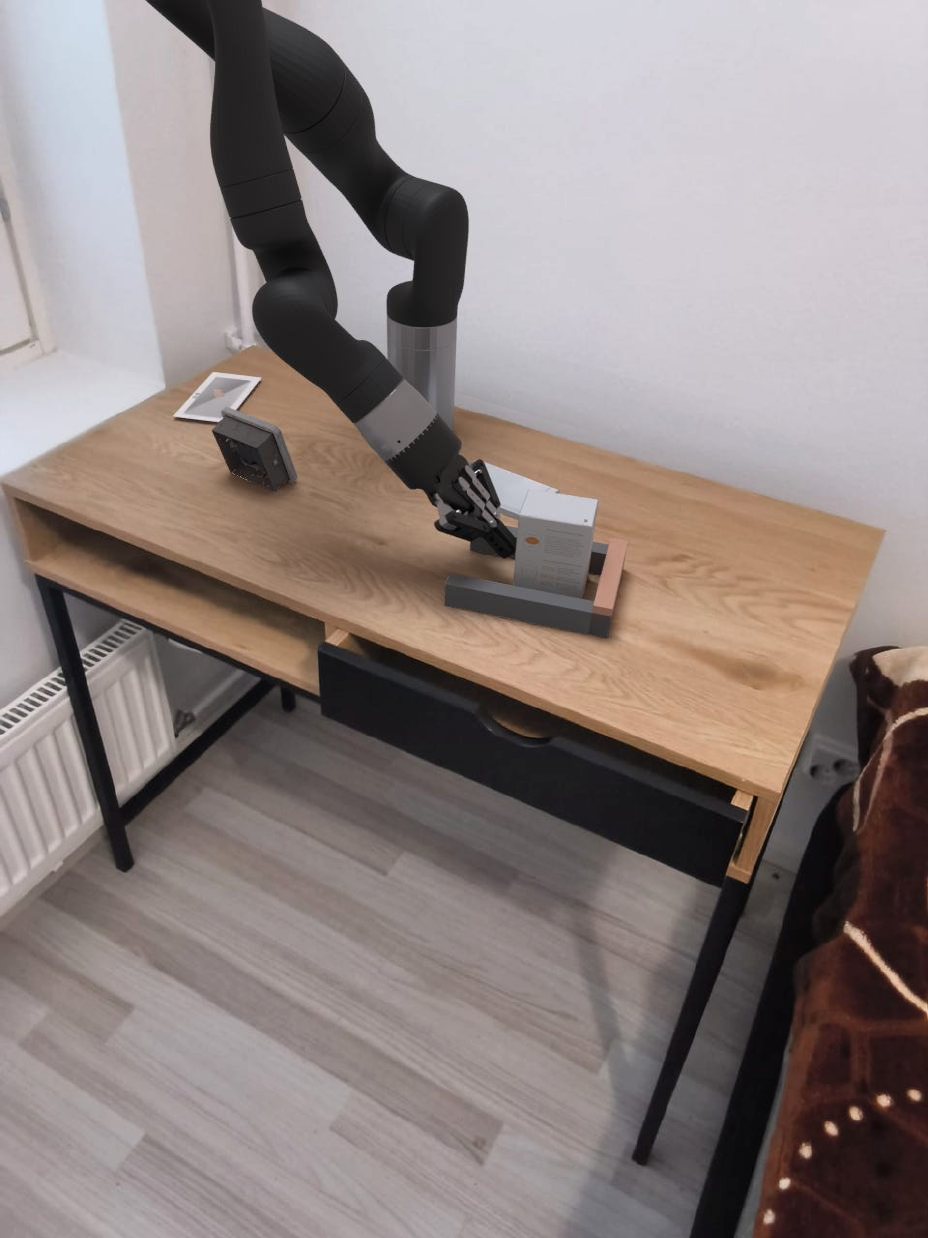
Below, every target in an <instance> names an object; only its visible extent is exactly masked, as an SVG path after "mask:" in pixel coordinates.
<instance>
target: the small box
mask: <svg viewBox="0 0 928 1238" xmlns="http://www.w3.org/2000/svg"><path fill="white" fill-rule="evenodd" d="M598 506H599V500H598V499H596V498H591V497H583V496H577V495H569V494H564V493H559V494H558V493H552V492H545V491H539V490H532V489H529V490H528V492H527V494H526V497H525V500H524V502H523V505H522V508H521V510H520V513H519V517H518V520H517V528H518V530H517V543H516V554H515V559H514V569H513V570H514V572H513V582H512V585H513V586H518V587H523V588H528V589H534V590H539V591H544V592H549V593H554V594H559V595H564V596H569V597H574V598H580V599H584V594H585V592H586V591H585V590H586V585H587V582H588V578H589V573H588V572H589V565H590V558H591V551H592V544H593V542H594V538H595V537H594V535H595V528H596V522H597V515H598V514H597V513H598V509H599V508H598Z"/></svg>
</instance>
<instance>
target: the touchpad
mask: <svg viewBox="0 0 928 1238" xmlns="http://www.w3.org/2000/svg"><path fill="white" fill-rule="evenodd" d="M261 379H262V377H261V376H260V377H258V376H250V375H243V374H234V373H226V372H216V371H212V372H211V373H210V375H209V376H208V377H207V378H206V379H204V381H203V382H202V383H201V385H200V386H199V387H198V388H197V389H196V390H194V392H193V393H192V394H191V395H190V396H189V398H188V399H187V400H186V401H184V403H183V404H182V405H181V406H180V408H179V409H178V410H177V411H176V412H175V413H174V414H173V416H172V417H174V418H183V419H188V420H189V419H191V420H196V421H197V420H199V421H207V422H215V423H219V421H220V420H222V419H223V417H222V413H221V410H223V409H224V408H226V407H229V408H231V409H234V410H238V409H239V407H240V405H242V403H243V402H244V401H245V400H246V398H247V397H248V396H249V394H250V393H251V392H252V391H253V389H254V388H255V387H256V386H257V384H258V383H259V382H260V381H261Z"/></svg>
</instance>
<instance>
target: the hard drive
mask: <svg viewBox="0 0 928 1238" xmlns="http://www.w3.org/2000/svg"><path fill="white" fill-rule="evenodd" d="M483 462H484V463H485V465H486V468H487V470H488V473H489V475H490V478H491V480H492V483H493V485H494V488H495V490H496V493H497V495H498V498H499V500H500V503H501V506H500V507H498V508H497V511H498V512H499V513H500V515H504V516H507V517H510V518H512V519H514V520H517V521H518V517H519V513H520V510H521V508H522V505H523V502H524V500H525V497H526V494H527V492H528V490H529V489H532V490H539V491H545V492H552V493H558V494H560V489H557V488H554V487H552V486H549V485H547V484H544V483H541V482H539V481H536V480H534V479H531V478H528V477H525V476H522V475H521V474H517V473H514V472H513V471H509V470H506V469H504V468H501V467H499V466H496V465H493V464H491V463H488V462H486V461H483Z"/></svg>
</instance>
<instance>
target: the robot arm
mask: <svg viewBox="0 0 928 1238" xmlns="http://www.w3.org/2000/svg"><path fill="white" fill-rule="evenodd" d="M145 2H147V3H148V4H149V5H150V6H151V7H152V8H153V9H154V10H156V11H157V12H158V13H159V14H160V15H161V16H163V18H165V19H166V20H167V21H168V22H170V24H172V25H173V26H174V27H175V28H176V29H178V30H179V31H180V32H181V33H182V34H183V35H185V36H186V37H187V39H189V40H190V41H192V42H193V43H194V44H195V45H196V46H197V47H198V48H199V49H201V50H202V51H203V52H204V53H205V54H206V55H207V56H208V57H209V58H210V59H211V60H213V62H214V75H213V77H214V78H213V79H214V80H213V91H212V101H211V111H210V121H209V122H210V123H209V144H210V155H211V159H212V160H211V161H212V165H213V169H214V174H215V177H216V181H217V184H218V186H219V190H220V193H221V195H222V199H223V202H224V205H225V208H226V211H227V214H228V217H229V218H230V219H229V221H230V223H231V227H232V229H233V231H234V234H235V236H236V239H237V240H238V242H239V243H240V245H241V246H242V247H244V249H245V248H246V249H248V250H249V251H250V250H251V251H252V252H253V254H254V256H255V259H256V261H257V263H258V265H259V268H260V271H261V273H262V275H263V278H264V281H265V283H263V284H262V286H261V287H259V289H258V290H257V292H256V293H255V294H254V295H255V296H254V298H253V300H252V304H251V315H252V320H253V323H254V326H255V329H256V330H257V332H258V334H259V336H260V337H261V339H262V340H263V341H264V343H265V344H266V346H267V347H268V348H269V349H270V350H271V351H272V352H273V353H274V354H275V355H276V356H277V357H279V359H281V360H282V362H285V364H286V365H288V366H289V367H291V368H292V369H293V370H294V371H296V372H297V373H298V374H300V375H301V376H302V377H303V378H305V380H307V381H309V382H311V384H313V385H314V386H316V387H317V388H319V389H320V390H322V391H323V392H324V393H325V394H326V395H327V396H328V397H329V399H330V400H331V401H332V402H333V403H334V404H335V405H336V407H337V408H338V410H340V411H341V412H342V413H343V414H344V416H346V418H347V419H348V420H349V421H350V422H351V423H352V424H353V425H354V427H355V428H356V430H358V432H359V433H360V435H361V436H362V438H363V439H364V440H365V442H366V443H367V445H368V446H370V448H371V449H372V450H373V451H374V452H375V453H376V454H377V455H378V456H379V457H380V459H381V460H382V461H383V462H384V463H385V464H386V465H387V466H388V467H389V469H391V471H392V472H393V473H394V475H396V477H398V479H399V480H400V481H401V482H402V483H403V484H404V485H405V486H406V488H408V489H409V490H411V491H412V490H413V491H414V490H417V489H419V490H422V491H423V492H424V494H425V495H426V496H427V498H428V501H429V502H430V504H431V505H432V506H433V507H435V508H436V509H437V513H438V519H436V520H435V521H434V522H433V523H434V524H433V526H434V528H435V529H436V531H438V532H440V533H442V534H446V535H449V536H452V537H455V538H457V539H461V540H463V541H467V542H472V541H474V540H475V539H477V538H479V537H482V538H483V539H484V540H485V541H486V542H487V543H488V544H489V545H490V546H491V547H492V548H493V550H494V551H495V552H496V553H497V554H498V555H497V556H498V557H500V558H502V559H504V560H505V559H507V558H509V556H511V555H513V554H514V553H516V543H517V539H516V538H515V537H514V535H513V534H512V533H511V532H510V531H509V530H508V528H507V527H506V526H507V525H505V523H504V522H503V521H502V520H501V513H499V512H498V511H497V508H498V507H500V506H501V503H500V500H499V498H498V495H497V493H496V490H495V488H494V485H493V483H492V480H491V478H490V475H489V473H488V470H487V468H486V465H485V463H484V462H485V461H484V460H482V459H481V458H479V459H477V460H476V461H474V462H469V461H468V460H467V459H466V457H464V456H463V455H462V454H461V453H460V452H461V449H462V446H463V442H462V440H461V439H460V437H458V435H457V433H455V432H454V420H455V419H454V414H455V393H456V392H455V391H456V390H455V389H456V369H457V367H456V364H457V337H458V336H457V335H458V334H457V332H458V330H457V329H458V307H459V302H460V299H461V297H462V294H463V290H464V286H465V278H466V276H465V275H466V265H467V256H468V255H467V254H468V244H469V232H470V226H469V225H470V218H469V210H468V205H467V203H466V200H465V198H464V196H463V195H462V193H461V192H459V191H458V190H457V189H455V188H454V187H451V186H447V185H446V184H445V185H444V184H441V183H437V182H434V181H430V180H427V179H424V178H420V177H417V176H415V175H412V174H410V173H408V172H406V170H404V169H403V168H401V167H400V166H399V165H398V164H397V163H396V162H395V161H394V160H393V159H392V158H391V156H390V154H388V153H387V152H386V151H385V149H383V147H382V146H381V145H380V143H379V141H378V139H377V133H376V120H375V115H374V110H373V107H372V102H371V100H370V98H369V95H368V94H367V92H366V91H365V89H364V88H363V86H362V85H361V83H360V81H359V80H358V79H357V77H356V76H355V75H354V74H353V72H352V71H351V70H350V68H349V67H348V66H347V64H346V63H345V61H344V60H343V59H342V58H341V57H340V55H339V54H338V53H337V51H335V49H334V48H332V46H331V45H330V44H329V42H327V41H325V39H322V37H320V36H319V35H317V34H315V33H314V32H312V31H311V30H309V29H308V28H306V27H304V26H303V25H302V26H301V25H300V24H298V23H296V22H294V21H293V20H290V19H288V18H286V17H284V16H282V15H280V14H278V13H276V12H275V11H272V10H270V9H268V8H266V7H263V2H262V0H145ZM286 139H287V140H288V141H289V142H290V143H291V144H292V145H293V146H294V147H295V149H297V151H299V152H300V153H301V154H302V155H303V156H304V157H305V158H306V159H308V160H309V162H310V163H311V164H312V165H313V166H314V167H315V168H316V169H317V170H318V171H319V172H320V174H322V175H323V177H324V178H325V179H326V180H327V181H328V182H329V183H330V184H331V185H333V186H334V187H335V188H336V190H337V191H339V192H340V193H341V194H342V195H343V197H344V198H345V199H346V201H347V202H348V203H349V205H351V207H352V209H353V211H355V212H356V214H357V216H358V218H359V219H360V220H361V221H362V223H363V224H364V225H365V227H366V228H367V230H368V232H369V233H370V234H371V235H372V237H374V239H375V240H376V241H377V242H378V244H379V245H380V246H381V247H382V248H384V249H385V250H387V252H389V253H391V254H394V255H395V256H398V257H400V258H404V259H406V260H407V259H408V260H410V261H412V262H413V270H412V280H408V281H404V282H400V283H398V284H395V285H394V286H393V287H391V288H390V289H389V290H388V291H387V295H386V304H385V305H386V306H385V307H386V348H387V349H386V351H387V355H386V356H387V357H386V356H385V354H383V352H381V351H380V349H379V348H377V346H376V345H374V344H373V343H372V342H370V341H369V340H365V339H356V338H355V337H354V336H353V335H352V334H350V332H349V331H348V330H347V329H346V328H344V327H343V326H342V325H341V324H340V323H339V322H338V321H337V320H336V319H337V318H336V317H337V315H338V308H339V303H338V302H339V301H338V293H337V287H336V284H335V281H334V278H333V277H334V276H333V275H332V272H331V269H330V266H329V264H328V262H327V260H326V256H325V255H324V252H323V251H322V248H321V246H320V244H319V241H318V239H317V237H316V235H315V232H314V231H313V230H312V227H311V225H310V223H309V220H308V218H307V214H306V209H305V205H304V201H303V199H302V198H303V197H302V193H301V191H300V188H299V185H298V184H299V183H298V180H297V176H296V173H295V169H294V166H293V163H292V160H291V156H290V152H289V149H288V146H287V142H286Z"/></svg>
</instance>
